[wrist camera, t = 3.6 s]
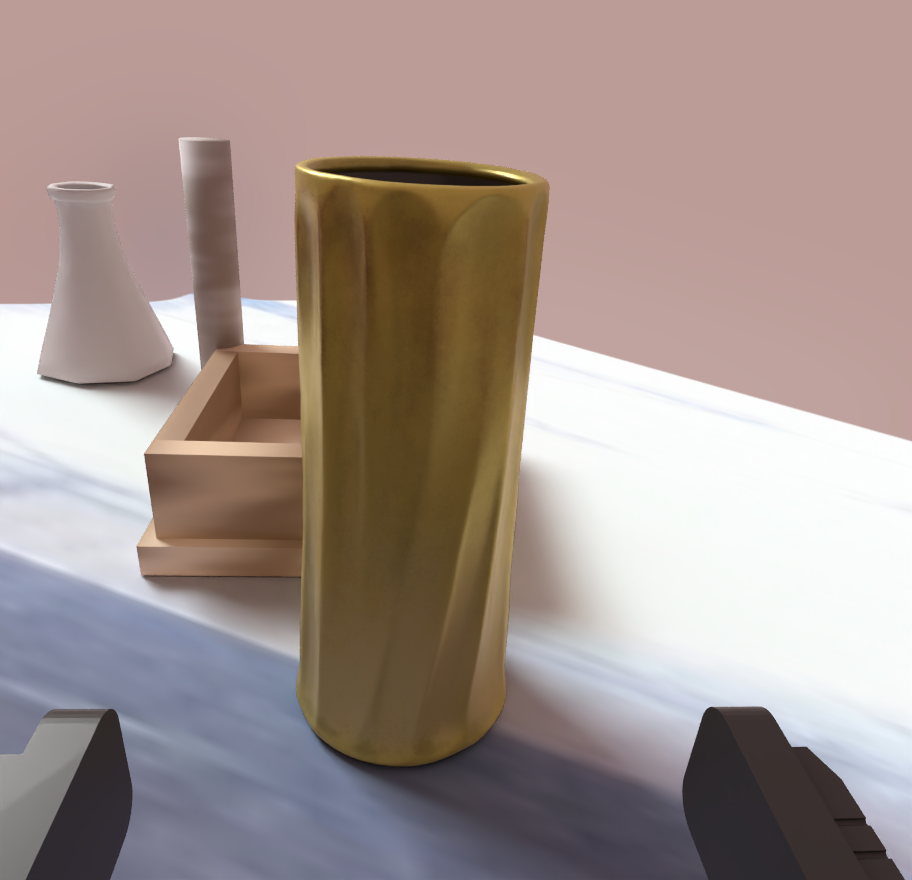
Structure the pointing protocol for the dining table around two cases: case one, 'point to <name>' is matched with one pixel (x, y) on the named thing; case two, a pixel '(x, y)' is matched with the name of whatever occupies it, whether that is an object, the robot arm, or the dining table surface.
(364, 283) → the vase
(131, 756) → the dining table surface
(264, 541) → the stand
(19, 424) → the dining table surface
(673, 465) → the dining table surface
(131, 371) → the flask
